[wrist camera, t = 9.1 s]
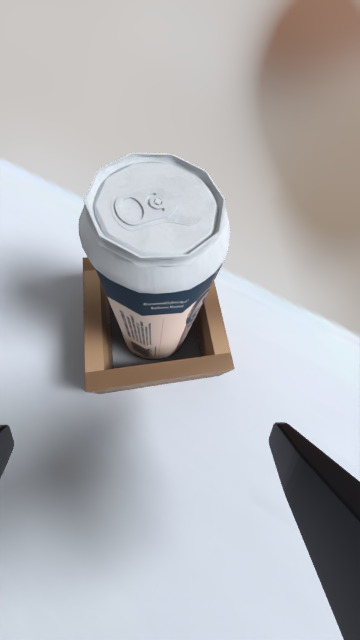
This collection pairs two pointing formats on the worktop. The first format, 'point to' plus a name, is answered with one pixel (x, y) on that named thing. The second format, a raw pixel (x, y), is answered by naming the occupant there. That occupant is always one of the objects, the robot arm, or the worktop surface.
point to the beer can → (154, 245)
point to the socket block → (111, 380)
